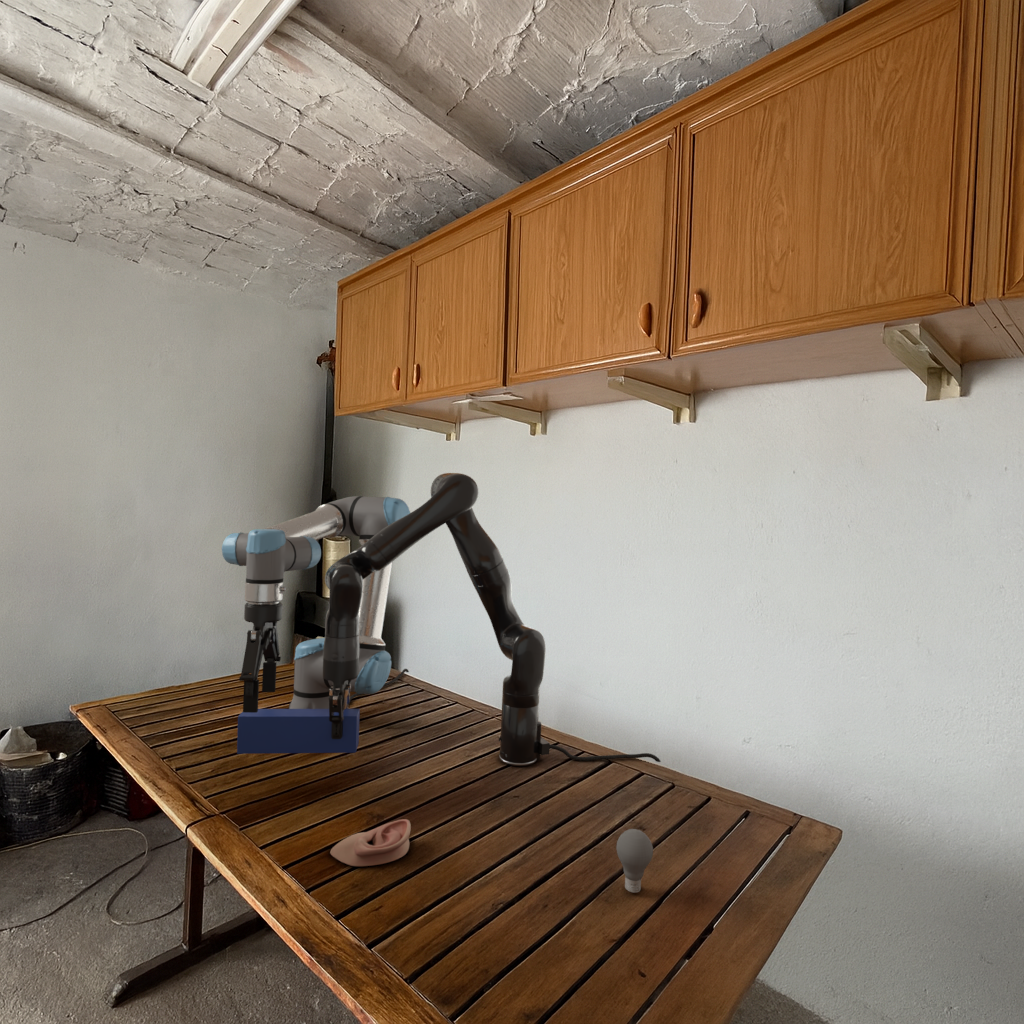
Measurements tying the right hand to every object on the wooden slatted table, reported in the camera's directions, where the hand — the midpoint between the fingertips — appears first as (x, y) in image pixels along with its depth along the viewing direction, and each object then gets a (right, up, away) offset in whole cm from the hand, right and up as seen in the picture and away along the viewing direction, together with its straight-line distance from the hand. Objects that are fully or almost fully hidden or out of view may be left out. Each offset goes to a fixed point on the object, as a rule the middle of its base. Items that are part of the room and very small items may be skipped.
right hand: (338, 733), depth 137 cm
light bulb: (+58, -15, -31) cm, 67 cm away
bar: (-8, -3, -1) cm, 9 cm away
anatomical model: (+12, -13, -23) cm, 29 cm away
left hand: (-16, +8, -2) cm, 18 cm away
